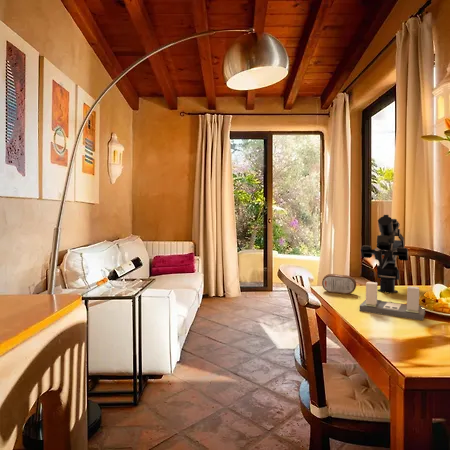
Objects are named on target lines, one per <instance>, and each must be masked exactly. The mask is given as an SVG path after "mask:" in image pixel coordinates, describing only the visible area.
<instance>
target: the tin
mask: <svg viewBox="0 0 450 450" xmlns="http://www.w3.org/2000/svg"><path fill="white" fill-rule="evenodd" d="M321 284H322V285H321V286H322V288H323V289H324V291H326V292H328V293H333V294H343V295H349V294H350V295H351V294H352V293H354V292H355V290H356V288H357V282H356V279H355V278H353V277H352V276H350V275H345V274H336V273H329V274H327V275H325V276H324V277H323V278H322V282H321Z"/></svg>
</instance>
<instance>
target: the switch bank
mask: <svg viewBox="0 0 450 450" xmlns="http://www.w3.org/2000/svg"><path fill="white" fill-rule="evenodd" d="M421 307H423V306H422V305H419V310H418V311H413V310H407V303H399V302H391V301H384V300H380V299H377V304H376V305H371V304H366V299H365V300H364V301H363V302H362V303H361V304H360V305H359V311H360V312H365V313H370V314H371V313H373V314H379V315H384V316H385V315H386V316H390V317H392V316H393V317H397V318H405V319H411V320H416V321H422V322H423V321H424V318H425V315H426V312H425V309H422V308H421Z"/></svg>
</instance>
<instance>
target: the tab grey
mask: <svg viewBox="0 0 450 450" xmlns="http://www.w3.org/2000/svg"><path fill="white" fill-rule="evenodd" d="M406 293H407V294H406V304H407V310H413V311H418V310H419V306H420V286H411V285H408V286H407V288H406Z"/></svg>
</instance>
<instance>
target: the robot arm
mask: <svg viewBox="0 0 450 450" xmlns="http://www.w3.org/2000/svg"><path fill="white" fill-rule="evenodd" d="M377 225H378V230H379V232H380V234H379V235H376V248H374V249H372V246H371V245H362V246H361V248H360V252H361V256H362V258H365V259H366V258H367V259H371V258H372V257H373V255H374V259H375V260H377V262H378V265H377V267H376V274H377V275H376V276H377V279H380V282H379V283H380V284H379V285H380V286H379V288H377V292H382V293H387V294H393V293H398V292H399V291H398V290H396V287H395V285H396V281H398V280H400V270H399V268H398V267H397V262H396V261H397V259H398V260H399V261H406V262H407V261H409V249H408V248H407V247H405V244H406V243H405V237H404V236H403V235H402V233H401V229H400V228H399V227H400V222H399V220H397V219H396V218H392V217H390V216H389V214H383V216H381V217H379V218H378V220H377ZM396 237H398V239H395V238H396Z"/></svg>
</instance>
